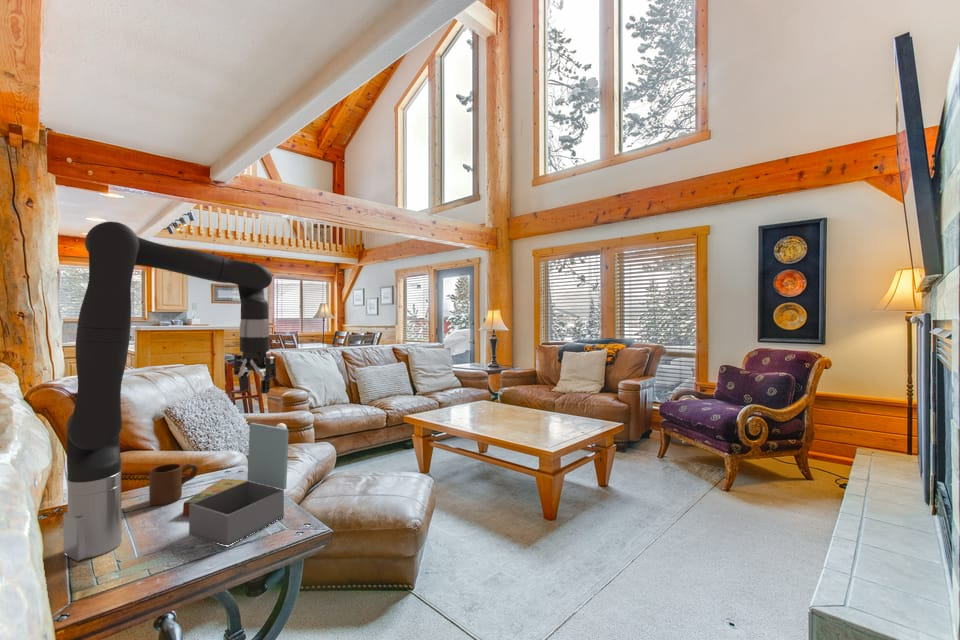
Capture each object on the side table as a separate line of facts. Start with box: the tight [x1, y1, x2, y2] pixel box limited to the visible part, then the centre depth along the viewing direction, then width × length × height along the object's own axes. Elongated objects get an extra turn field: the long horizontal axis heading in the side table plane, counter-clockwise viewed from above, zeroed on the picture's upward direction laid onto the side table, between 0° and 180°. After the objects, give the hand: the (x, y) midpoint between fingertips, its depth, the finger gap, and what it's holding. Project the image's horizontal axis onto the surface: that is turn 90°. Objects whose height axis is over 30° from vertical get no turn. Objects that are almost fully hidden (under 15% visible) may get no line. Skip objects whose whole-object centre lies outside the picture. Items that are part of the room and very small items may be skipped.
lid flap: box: [246, 422, 290, 490], centre depth 120 cm, size 16×14×6 cm
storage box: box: [188, 480, 285, 545], centre depth 110 cm, size 16×14×8 cm
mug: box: [148, 462, 199, 506], centre depth 126 cm, size 12×8×9 cm, turn 139°
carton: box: [182, 478, 248, 517], centre depth 123 cm, size 8×16×4 cm, turn 176°
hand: (254, 391), depth 123 cm, fingers open, 8 cm apart
